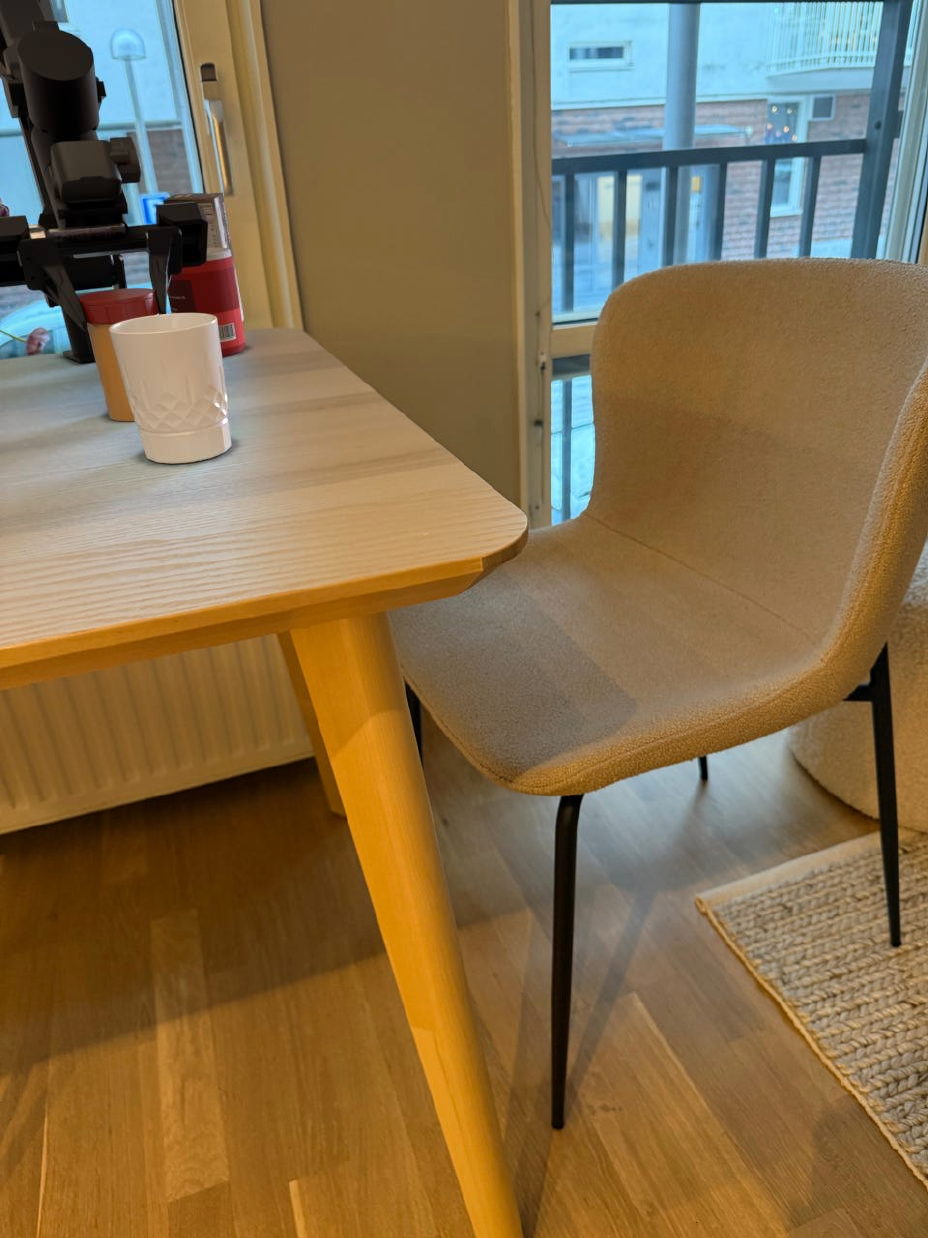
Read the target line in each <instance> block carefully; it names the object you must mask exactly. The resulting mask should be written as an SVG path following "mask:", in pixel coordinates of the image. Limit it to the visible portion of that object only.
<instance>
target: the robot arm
mask: <svg viewBox="0 0 928 1238" xmlns="http://www.w3.org/2000/svg"><path fill="white" fill-rule="evenodd" d="M0 79H1V83H2V87H3V92H4V97H5V100H6V103H7V107H8V111H9V114H10V117H11V119H17V120H18V123H19V128H20V130H21V134H22V137H23V141H24V145H25V148H26V149H25V150H26V152H27V155H28V159H29V162H30V167H31V170H32V173H33V178H34V180H35V184H36V188H37V191H38V194H39V198H40V201H41V205H42V212H41V213H39V216H38V221H37V223H36V224H29V222H28V219H27V215H26V214H21V215H10V216H0V288H7V287H8V288H10V287H17V286H26V288H27V289H28V290H30V291H33V292H34V291H40V292H42V294H43V296H44V299H45V303H46V304H47V307H49V308H50V309H53V308H55V307H60V310H61V314H62V317H63V322H64V326H65V328H66V334H67V338H68V340H69V345H70V349H68V350H63V351H62V355H63V356H64V357H66V358H68V359H71V360H73V361H76V362H78V363H88V362H93V361H96V360H95V356H94V352H93V348H92V344H91V340H90V335H89V331H88V326H87V321H86V318H85V314H84V311H83V308H82V305H81V303H80V301H79V299H78V297H80V296H82V295H86V294H90V293H95V292H100V291H107V290H108V288H111V289H109V290H115V289H127V288H128V283H127V278H126V269H125V261H124V260H125V259H124V254H135V253H147V255H148V275H149V280H150V285H151V289H154V290H155V293H156V299H157V304H158V309H159V313H158V315H162V314H167V309H168V308H167V307H168V306H167V305H168V294H167V291H168V287H169V284H170V280H171V276H174V275H178V274H180V273H181V272H182V268H188V267H197V266H201V265H203V264H204V263H205V262H206V261H207V239H208V221H207V218H206V215H205V213H204V210H203V208H202V207H201V206H200V205H199V204H198V203H196V202H184V203H172V204H164V203H161V204H160V203H159V204H155V222H156V223H149V224H139V225H129V224H128V222H127V218H126V216H125V215H128V214H129V206H128V200H127V198H126V196H125V192H124V190H123V187H122V186H123V185H126V184H139V183H141V179H142V164H141V161H140V157H139V153H138V150H137V147H136V144H135V142H134V140H133V137H132V136H116V137H115V136H113V137H110V138H109V140H106V139H99V136H98V133H97V129H98V128H99V125H100V109H101V106H102V103H103V102H102V101H103V100H104V99H106V98H107V91H106V86H105V82H104V80H100V78H99V77H98V76H97V75H96V67H95V57H94V52H93V50H92V48H91V47H90V46H88V44H87V43H86V42H85V41H83V40H82V39H81V38H80V37H78V36H76V35H74V34H73V33H71V32H68V31H65V30H62V29H60V26H59V23H58V21H57V20H56V19H55V14H54V9H53V7H52V3H51V0H0ZM112 287H113V288H112ZM106 288H107V289H106ZM96 289H97V290H96ZM98 289H103V290H98ZM88 290H93V291H88ZM81 291H85V292H81Z"/></svg>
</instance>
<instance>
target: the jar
mask: <svg viewBox="0 0 928 1238" xmlns="http://www.w3.org/2000/svg"><path fill="white" fill-rule="evenodd" d="M114 324H116V323H106V324H93V323H87V326H88V331H89V335H90V340H91V344H92V348H93V352H94V356H95V360H94V361H95V364H96V369H97V373H98V377H99V380H100V385H101V389H102V392H103V397H104V401H105V405H106V409H107V414H108V417H109V419H111V420H113V421H117V422H135V420H134V415H133V413H132V410H131V407H130V404H129V401H128V397H127V394H126V390H125V386H124V383H123V379H122V375H121V372H120V368H119V365H118V361H117V357H116V354H115V350H114V347H113V343H112V340H111V336H110V333H109V327H110V326H112V325H114Z"/></svg>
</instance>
